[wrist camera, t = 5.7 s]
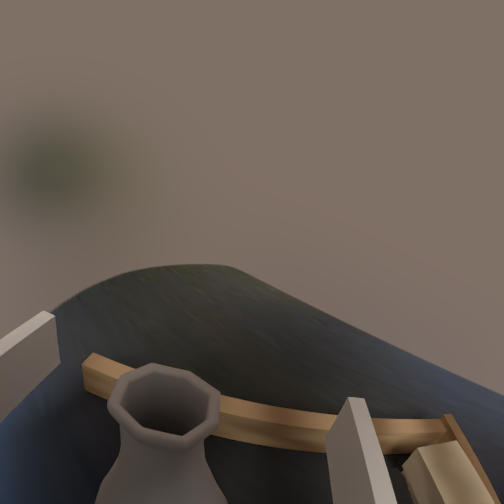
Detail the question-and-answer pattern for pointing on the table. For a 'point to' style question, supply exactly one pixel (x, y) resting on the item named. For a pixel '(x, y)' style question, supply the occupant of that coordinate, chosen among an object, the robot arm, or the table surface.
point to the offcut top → (444, 476)
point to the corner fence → (299, 422)
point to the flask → (162, 439)
